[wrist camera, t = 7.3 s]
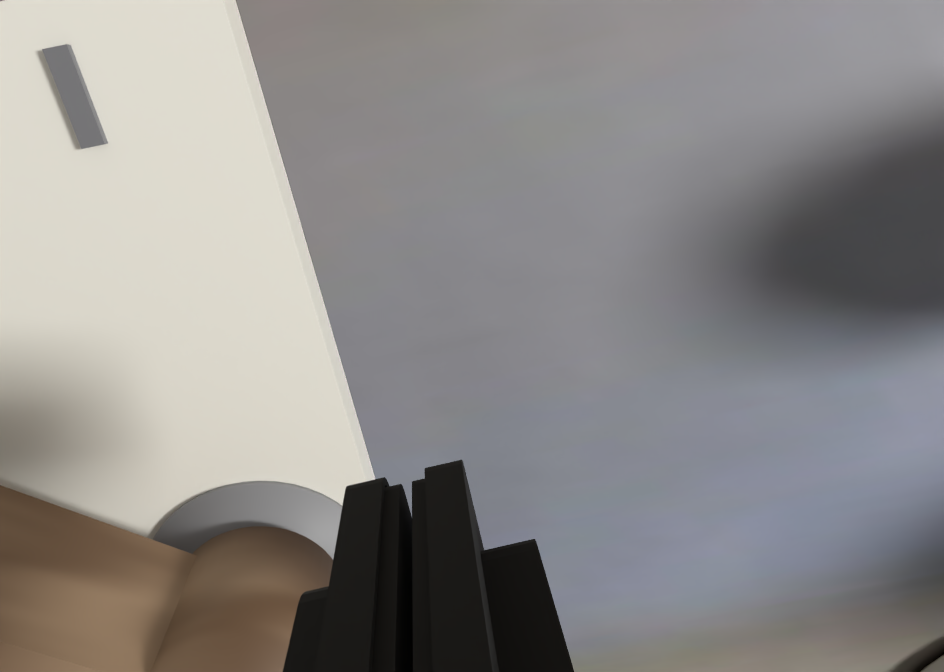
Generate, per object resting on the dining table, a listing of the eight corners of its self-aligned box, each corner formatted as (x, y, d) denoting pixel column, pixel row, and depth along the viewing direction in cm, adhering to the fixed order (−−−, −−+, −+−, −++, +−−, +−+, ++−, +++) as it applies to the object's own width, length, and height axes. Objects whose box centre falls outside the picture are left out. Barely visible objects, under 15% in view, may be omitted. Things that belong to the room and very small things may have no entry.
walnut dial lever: (371, 561, 18) (367, 721, 14) (300, 675, 19) (274, 860, 15) (-194, 344, 15) (-462, 463, 10) (-244, 500, 16) (-507, 673, 11)
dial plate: (422, 641, 22) (426, 683, 21) (-98, 772, 21) (-137, 826, 20) (226, -29, 15) (209, -43, 13) (-569, 130, 14) (-689, 136, 13)
